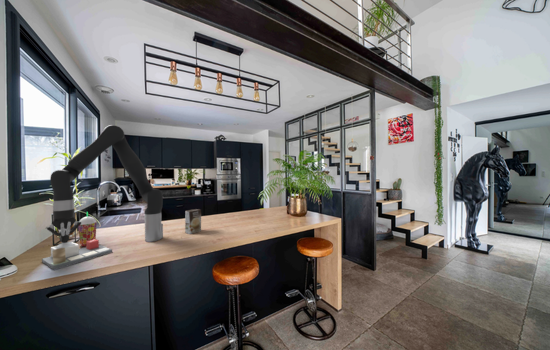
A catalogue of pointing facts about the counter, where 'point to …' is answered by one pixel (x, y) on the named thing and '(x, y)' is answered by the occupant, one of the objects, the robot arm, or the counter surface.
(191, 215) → the coffee box
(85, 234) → the smoothie
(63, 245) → the dome
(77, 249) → the game board
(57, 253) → the tan block
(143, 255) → the counter surface
